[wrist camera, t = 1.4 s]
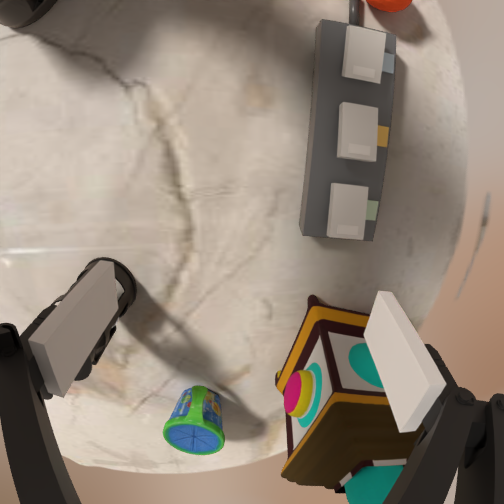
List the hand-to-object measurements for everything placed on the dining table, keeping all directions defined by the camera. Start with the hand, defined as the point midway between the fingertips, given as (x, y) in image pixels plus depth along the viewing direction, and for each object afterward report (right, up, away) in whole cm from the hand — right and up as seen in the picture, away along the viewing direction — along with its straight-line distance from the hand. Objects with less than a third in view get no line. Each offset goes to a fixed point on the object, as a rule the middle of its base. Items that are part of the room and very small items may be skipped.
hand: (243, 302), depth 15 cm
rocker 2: (+12, +15, +16) cm, 25 cm away
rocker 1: (+12, +23, +13) cm, 29 cm away
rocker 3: (+11, +7, +20) cm, 24 cm away
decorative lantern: (+15, -13, +35) cm, 40 cm away
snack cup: (-9, -25, +41) cm, 49 cm away
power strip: (+12, +20, +21) cm, 31 cm away
